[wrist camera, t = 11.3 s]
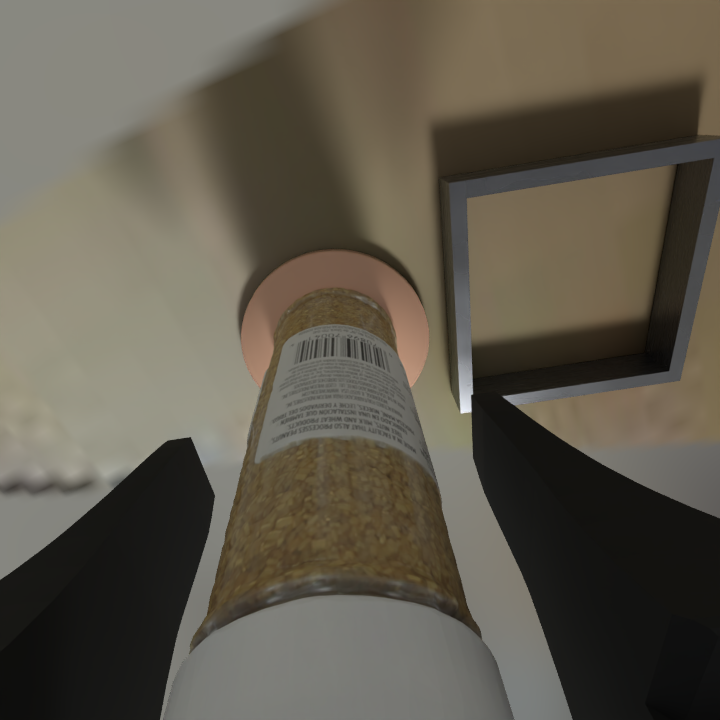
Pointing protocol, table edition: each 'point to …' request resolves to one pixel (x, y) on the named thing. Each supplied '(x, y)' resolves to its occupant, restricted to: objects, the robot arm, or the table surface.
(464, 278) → the square socket
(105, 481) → the table surface
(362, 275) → the terracotta coaster
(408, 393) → the sprinkles bottle
